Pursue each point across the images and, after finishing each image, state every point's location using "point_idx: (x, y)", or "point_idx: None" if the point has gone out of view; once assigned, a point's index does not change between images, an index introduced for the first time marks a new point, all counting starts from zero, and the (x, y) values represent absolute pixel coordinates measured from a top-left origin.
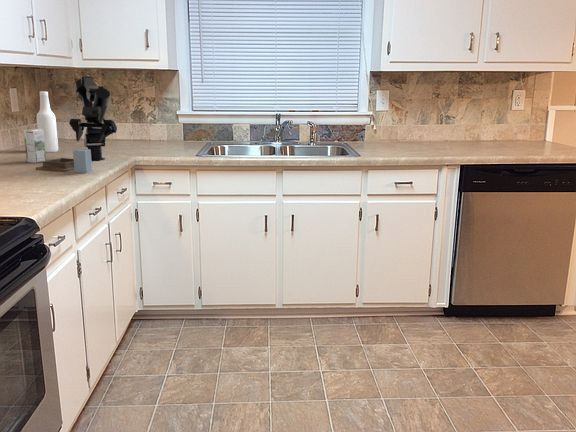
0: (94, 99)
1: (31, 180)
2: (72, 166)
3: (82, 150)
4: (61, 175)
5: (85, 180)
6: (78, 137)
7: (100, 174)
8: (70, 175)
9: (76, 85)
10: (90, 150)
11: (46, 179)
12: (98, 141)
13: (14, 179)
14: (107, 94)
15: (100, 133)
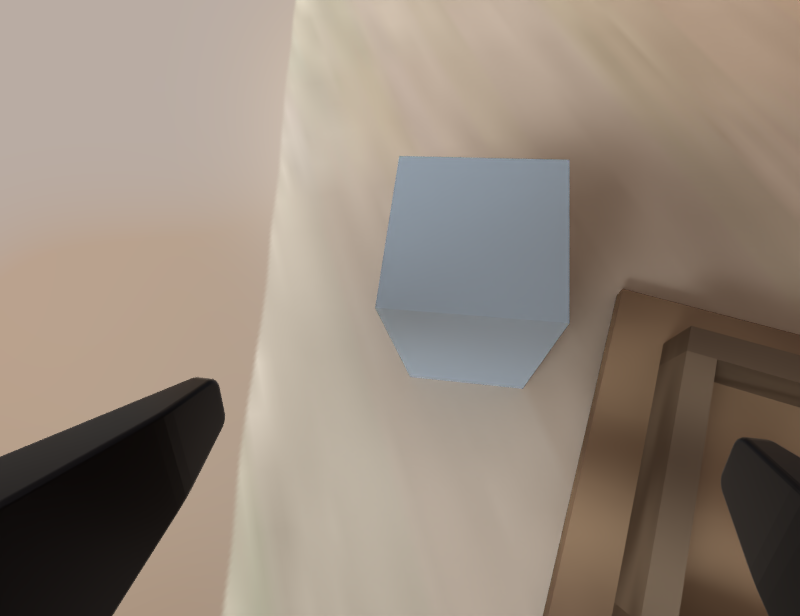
0: None
1: (659, 3)
2: (646, 453)
3: (441, 179)
4: None
5: (343, 56)
6: (797, 532)
7: (302, 236)
8: None
9: None
10: (379, 308)
11: (586, 40)
12: (216, 394)
13: (793, 5)
14: None
15: (10, 482)
